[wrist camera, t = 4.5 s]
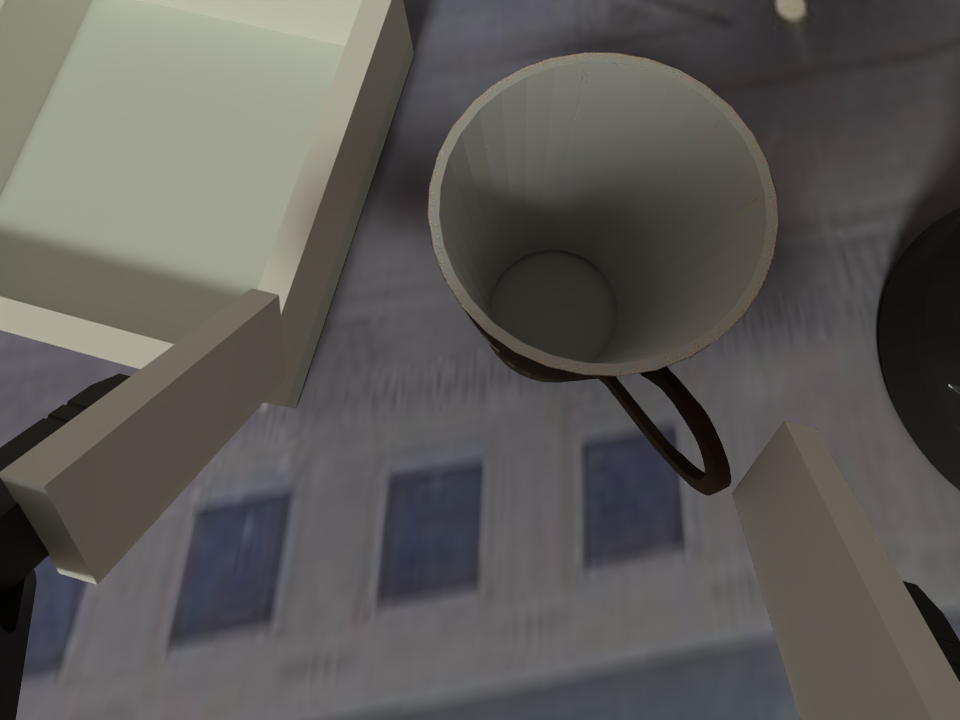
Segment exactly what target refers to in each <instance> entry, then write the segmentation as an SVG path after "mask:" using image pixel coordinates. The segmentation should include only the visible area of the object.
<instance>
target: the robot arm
mask: <svg viewBox="0 0 960 720" xmlns="http://www.w3.org/2000/svg"><path fill="white" fill-rule="evenodd" d="M879 347H880V356H881V364H882V368H883V373H884V377H885V381H886V384H887V388H888V391H889V393H890V396H891V399H892V401H893V404H894V406H895V408H896V410H897V413H898V415H899V417H900V419H901V420H902V422H903V424H904V426H905V428H906V429H907V431H908V433H909V434H910V436H911V437H912V439H913V440H914V442H915V443H916V445H917V446H918V447H919V449H920V450H921V451H922V453H923V454H924V455H925V456H926V458H927V459H928V460H929V461H930V462H931V464H932V465H933V466H934V467H935V468H936V469H937V470H938V471H939V472H940V473H941V474H942V475H943V476H944V477H945V478H946V479H947V480H948V481H949V482H950V483H951V484H953V485H954V486H955V487H956V488H957V489H959V490H960V208H959V209H957V210H955V211H953V212H951V213H950V214H948V215H946V216H944V217H943V218H941V219H940V220H938V221H937V222H935V223H934V224H932V225H931V226H930V227H929V228H928V229H926V230H925V231H924V232H923V233H922V234H921V235H920V236H919V237H918V238H917V239H916V240H915V241H914V242H913V243H912V244H911V245H910V247H909V248H908V249H907V250H906V252H905V253H904V255H903V256H902V257H901V259H900V261H899V262H898V264H897V266H896V267H895V269H894V271H893V273H892V276H891V278H890V280H889V283H888V285H887V288H886V291H885V295H884V298H883V302H882V308H881V313H880V323H879ZM285 378H286V368H285V356H284V345H283V334H282V323H281V311H280V300H279V295H277V294H273V293H269V292H265V291H261V290H257V289H253V288H251V289H250V290H249V291H247V292H246V293H244V294H243V295H242V296H240V297H239V298H238V299H236V300H235V301H233V302H232V303H231V304H229V305H228V306H227V307H225V308H224V309H223V310H221V311H220V312H218V313H217V314H216V315H214V316H213V317H212V318H210V319H209V320H207V321H206V322H205V323H203V324H202V325H201V326H199V327H198V328H196V329H195V330H194V331H192V332H191V333H190V334H188V335H187V336H186V337H184V338H183V339H181V340H180V341H179V342H177V343H176V344H175V345H173V346H172V347H170V348H169V349H168V350H166V351H165V352H164V353H162V354H161V355H159V356H158V357H157V358H155V359H154V360H153V361H151V362H150V363H149V364H147V365H146V366H144V367H143V368H142V369H140V370H139V371H138V372H136V373H135V374H133V375H132V376H127V375H123V374H118V375H115V376H113V377H110V378H108V379H105V380H103V381H100V382H98V383H95V384H93V385H91V386H89V387H88V388H86V389H85V390H83V391H82V392H80V393H79V394H78V395H76V396H75V397H73V398H72V399H70V400H69V401H68V403H67V405H62V406H60V407H59V408H57V409H56V410H54V411H53V412H51V413H50V414H49V415H48V418H47V419H44V418H43V419H41V420H40V421H38V422H37V423H36V424H34V425H33V426H31V427H30V428H28V429H27V430H25V431H24V432H22V433H21V434H20V435H18V436H17V437H15V438H14V439H12V440H11V441H9V442H8V443H7V444H5V445H4V446H2V447H1V448H0V720H16V714H17V707H18V701H19V694H20V688H21V681H22V675H23V668H24V662H25V655H26V649H27V642H28V635H29V629H30V622H31V616H32V609H33V603H34V596H35V590H36V583H37V581H36V574H35V571H34V568H35V567H36V566H37V565H38V564H39V563H40V562H42V561H43V560H44V559H45V558H46V557H47V556H48V555H49V557H50V559H51V560H52V562H53V564H54V565H55V567H56V568H57V570H58V572H59V573H60V574H63V575H67V576H70V577H73V578H77V579H80V580H83V581H87V582H90V583H93V584H97V585H98V584H99V583H100V581H101V580H102V579H103V578H104V577H105V576H106V575H107V574H108V573H109V572H110V570H111V569H112V568H113V567H114V566H115V565H116V564H117V563H118V562H119V561H120V559H121V558H122V557H123V556H124V555H125V554H126V553H127V552H128V551H129V550H130V548H131V547H132V546H133V545H134V544H135V543H136V542H137V541H138V540H139V539H140V537H141V536H142V535H143V534H144V533H145V532H146V531H147V530H148V529H149V528H150V526H151V525H152V524H153V523H154V522H155V521H156V520H157V519H158V518H159V517H160V515H161V514H162V513H163V512H164V511H165V510H166V509H167V508H168V507H169V506H170V504H171V503H172V502H173V501H174V500H175V499H176V498H177V497H178V496H179V495H180V493H181V492H182V491H183V490H184V489H185V488H186V487H187V486H188V485H189V484H190V482H191V481H192V480H193V479H194V478H195V477H196V476H197V475H198V474H199V473H200V471H201V470H202V469H203V468H204V467H205V466H206V465H207V464H208V463H209V462H210V460H211V459H212V458H213V457H214V456H215V455H216V454H217V453H218V452H219V451H220V449H221V448H222V447H223V446H224V445H225V444H226V443H227V442H228V441H229V440H230V438H231V437H232V436H233V435H234V434H235V433H236V432H237V431H238V430H239V429H240V427H241V426H242V425H243V424H244V423H245V422H246V421H247V420H248V419H249V418H250V416H251V415H252V414H253V413H254V412H255V411H256V410H257V409H258V408H259V407H260V405H261V404H262V403H263V402H264V401H265V400H266V399H267V398H268V397H269V396H270V394H271V393H272V392H273V391H274V390H275V389H276V388H277V387H278V386H279V385H280V383H281V382H282V381H283V380H284V379H285ZM732 494H733V498H734V501H735V504H736V508H737V511H738V514H739V518H740V521H741V524H742V528H743V531H744V534H745V537H746V541H747V544H748V547H749V551H750V554H751V557H752V561H753V564H754V567H755V571H756V574H757V577H758V581H759V584H760V587H761V591H762V594H763V597H764V601H765V604H766V607H767V611H768V614H769V617H770V621H771V624H772V627H773V631H774V634H775V637H776V641H777V644H778V647H779V650H780V654H781V657H782V660H783V664H784V667H785V670H786V674H787V677H788V680H789V684H790V687H791V690H792V694H793V697H794V700H795V704H796V707H797V710H798V714H799V717H800V720H960V641H959V639H958V637H957V636H956V634H955V632H954V631H953V629H952V627H951V626H950V624H949V622H948V621H947V619H946V617H945V616H944V614H943V613H942V612H941V611H940V610H939V609H938V607H937V606H936V605H935V604H934V603H933V602H932V601H931V600H930V599H929V598H928V597H927V596H926V594H925V593H924V592H923V591H922V590H921V589H920V588H919V587H918V586H917V585H915V584H912V583H908V582H904V581H902V579H901V578H900V576H899V574H898V572H897V571H896V569H895V567H894V565H893V564H892V562H891V560H890V558H889V556H888V555H887V553H886V551H885V549H884V548H883V546H882V544H881V542H880V541H879V539H878V537H877V535H876V533H875V532H874V530H873V528H872V526H871V525H870V523H869V521H868V519H867V518H866V516H865V514H864V512H863V511H862V509H861V507H860V505H859V503H858V502H857V500H856V498H855V496H854V495H853V493H852V491H851V489H850V488H849V486H848V484H847V482H846V480H845V479H844V477H843V475H842V473H841V472H840V470H839V468H838V466H837V465H836V463H835V461H834V459H833V457H832V456H831V454H830V452H829V450H828V449H827V447H826V445H825V443H824V442H823V440H822V438H821V436H820V434H819V433H818V431H817V429H816V428H812V427H808V426H804V425H800V424H796V423H792V422H788V421H784V422H783V423H782V424H781V426H780V427H779V429H778V430H777V431H776V433H775V434H774V436H773V437H772V438H771V440H770V441H769V443H768V444H767V445H766V447H765V448H764V450H763V451H762V452H761V454H760V455H759V457H758V458H757V459H756V461H755V462H754V464H753V465H752V466H751V468H750V469H749V471H748V472H747V473H746V475H745V476H744V478H743V479H742V480H741V482H740V483H739V485H738V486H737V487H736V489H735V490H734V492H733V493H732Z"/></svg>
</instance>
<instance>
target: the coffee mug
mask: <svg viewBox="0 0 960 720" xmlns="http://www.w3.org/2000/svg"><path fill="white" fill-rule="evenodd" d="M428 222H429V229H430V235H431V242H432V248H433V251H434V253H435V256H436V259H437V261H438V264H439V267H440V269H441V272H442V275H443V277H444V279H445V281H446V282H447V284H448V286H449V287H450V289H451V290H452V292H453V294H454V295H455V297H456V298H457V300H458V301H459V303H460V305H461V306H462V308H463V309H464V310H465V312H466V313H467V315H468V316H469V317H470V319H471V320H472V322H473V323H474V324H475V326H476V327H477V328H478V330H479V331H480V333H481V334H482V335H483V337H484V338H485V340H486V341H487V342H488V344H489V345H490V347H491V348H492V349H493V351H494V352H495V353H496V355H497V356H498V357H499V358H500V359H501V360H502V361H503V362H504V363H505V364H506V365H507V366H508V367H510V368H511V369H513V370H514V371H515V372H517V373H519V374H521V375H523V376H525V377H528V378H530V379H534V380H538V381H542V382H568V381H578V380H587V379H597V378H599V379H600V380H601V381H602V382H603V383H604V384H605V385H606V386H607V387H608V389H609V390H610V391H611V392H612V394H613V395H614V396H615V397H616V399H617V400H618V401H619V403H620V404H621V405H622V407H623V408H624V409H625V411H626V412H627V413H628V415H629V416H630V417H631V418H632V420H633V421H634V422H635V424H636V425H637V426H638V427H639V429H640V430H641V431H642V432H643V434H644V435H645V436H646V438H647V439H648V440H649V441H650V443H651V444H652V445H653V446H654V447H655V449H656V450H657V451H658V452H659V453H660V454H661V456H662V457H663V458H664V459H665V460H666V461H667V462H668V463H669V464H670V466H671V467H672V468H673V469H674V470H675V471H676V472H677V473H678V474H679V475H680V476H681V477H682V478H683V479H684V480H685V481H686V482H687V483H688V484H689V485H690V486H691V487H693V488H694V489H696V490H697V491H699V492H701V493H703V494H705V495H708V496H709V495H712V494H714V493H717V492H719V491H721V490H723V489H725V488H727V487H729V485H730V483H731V474H730V467H729V463H728V460H727V457H726V454H725V451H724V449H723V446H722V444H721V441H720V439H719V437H718V435H717V433H716V430H715V428H714V426H713V424H712V422H711V420H710V418H709V416H708V415H707V413H706V412H705V410H704V409H703V408H702V406H701V405H700V404H699V403H698V402H697V401H696V399H695V398H694V397H693V396H692V395H691V394H690V392H689V391H688V390H687V388H686V387H685V386H684V385H683V384H682V383H681V382H680V380H679V379H678V378H677V377H676V376H675V375H674V374H673V373H672V372H671V371H670V370H669V368H668V367H667V366H669V365H671V364H674V363H677V362H679V361H682V360H685V359H687V358H690V357H692V356H693V355H695V354H696V353H698V352H699V351H701V350H703V349H704V348H706V347H707V346H709V345H710V344H712V343H714V342H715V341H717V340H718V339H720V338H721V337H722V336H723V335H724V334H725V333H726V332H727V331H728V330H729V329H730V328H731V327H732V326H733V325H734V324H735V323H736V322H737V321H738V320H739V319H740V318H741V317H742V316H743V315H744V314H745V313H746V311H747V309H748V308H749V306H750V305H751V303H752V302H753V300H754V299H755V297H756V296H757V294H758V293H759V291H760V290H761V288H762V287H763V284H764V281H765V279H766V276H767V273H768V271H769V268H770V265H771V263H772V260H773V257H774V253H775V246H776V239H777V232H778V225H779V222H778V208H777V195H776V189H775V186H774V182H773V179H772V175H771V172H770V169H769V165H768V162H767V159H766V158H765V156H764V154H763V152H762V150H761V148H760V146H759V144H758V142H757V141H756V139H755V137H754V135H753V133H752V132H751V130H750V129H749V128H748V127H747V125H746V124H745V123H744V122H743V120H742V119H741V118H740V117H739V115H738V114H737V113H736V112H735V111H734V109H733V108H732V107H731V106H730V105H729V104H727V103H726V102H725V101H724V100H723V99H722V98H720V97H719V96H718V95H717V94H716V93H715V92H713V91H712V90H711V89H710V88H709V87H707V86H706V85H704V84H703V83H701V82H699V81H697V80H696V79H694V78H692V77H690V76H689V75H687V74H685V73H684V72H682V71H680V70H678V69H675V68H673V67H670V66H667V65H665V64H662V63H659V62H656V61H654V60H651V59H648V58H643V57H637V56H632V55H626V54H621V53H603V52H583V53H576V54H570V55H564V56H558V57H552V58H549V59H546V60H543V61H540V62H538V63H535V64H532V65H529V66H526V67H523V68H521V69H519V70H518V71H516V72H514V73H512V74H511V75H509V76H507V77H505V78H503V79H502V80H500V81H498V82H496V83H495V84H494V85H492V86H491V87H490V88H489V89H488V90H486V91H485V92H484V93H483V94H482V95H481V96H479V97H478V98H477V99H476V100H475V101H473V102H472V103H471V104H470V105H469V107H468V108H467V109H466V110H465V112H464V113H463V114H462V115H461V117H460V118H459V119H458V120H457V122H456V123H455V124H454V125H453V127H452V128H451V130H450V132H449V134H448V136H447V138H446V140H445V142H444V144H443V146H442V148H441V150H440V152H439V153H438V156H437V159H436V163H435V167H434V170H433V174H432V178H431V181H430V185H429V201H428ZM636 373H641V375H642V376H644V377H645V378H647V379H648V380H650V381H651V382H653V383H654V384H656V385H657V386H658V387H660V388H661V389H662V390H663V391H664V392H665V394H666V395H667V396H668V397H669V398H670V400H671V401H672V402H673V403H674V405H675V406H676V408H677V409H678V411H679V413H680V414H681V416H682V417H683V419H684V420H685V422H686V423H687V425H688V426H689V428H690V430H691V431H692V433H693V435H694V437H695V438H696V441H697V443H698V445H699V448H700V451H701V454H702V458H703V461H704V466H705V473H704V472H702V471H701V470H699V469H698V468H697V467H696V466H694V465H693V464H692V463H691V462H689V461H688V460H687V459H686V458H685V457H684V456H683V455H682V454H681V453H680V452H678V451H677V450H676V449H675V448H674V447H673V446H672V445H671V444H670V443H669V442H668V441H667V440H666V438H665V437H664V436H663V435H662V434H661V432H660V431H659V430H658V429H657V427H656V426H655V425H654V424H653V423H652V421H651V420H650V419H649V418H648V416H647V415H646V414H645V413H644V411H643V410H642V409H641V408H640V407H639V405H638V404H637V403H636V401H635V400H634V399H633V398H632V396H631V395H630V394H629V393H628V391H627V390H626V389H625V388H624V387H623V385H622V384H621V383H620V382H619V380H618V379H617V378H616V376H624V375H630V374H636Z"/></svg>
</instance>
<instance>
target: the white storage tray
mask: <svg viewBox="0 0 960 720" xmlns="http://www.w3.org/2000/svg"><path fill="white" fill-rule="evenodd" d="M413 56H414V51H413V46H412V41H411V36H410V31H409V26H408V21H407V16H406V12H405V7H404V2H403V0H0V330H2V331H6V332H10V333H13V334H17V335H20V336H24V337H27V338H31V339H35V340H38V341H42V342H45V343H49V344H52V345H56V346H60V347H63V348H67V349H70V350H74V351H77V352H81V353H85V354H88V355H92V356H95V357H99V358H102V359H106V360H110V361H113V362H117V363H120V364H124V365H127V366H131V367H135V368H138V369H142V368H143V367H144V366H146V365H147V364H149V363H150V362H151V361H153V360H154V359H155V358H157V357H158V356H159V355H161V354H162V353H164V352H165V351H166V350H168V349H169V348H170V347H172V346H173V345H175V344H176V343H177V342H179V341H180V340H181V339H183V338H184V337H186V336H187V335H188V334H190V333H191V332H192V331H194V330H195V329H196V328H198V327H199V326H201V325H202V324H203V323H205V322H206V321H207V320H209V319H210V318H212V317H213V316H214V315H216V314H217V313H218V312H220V311H221V310H223V309H224V308H225V307H227V306H228V305H229V304H231V303H232V302H233V301H235V300H236V299H238V298H239V297H240V296H242V295H243V294H244V293H246V292H247V291H249V290H250V289H251V288H253V289H257V290H261V291H265V292H269V293H273V294H277V295H279V300H280V311H281V323H282V334H283V345H284V356H285V368H286V378H285V379H284V380H283V381H282V382H281V383H280V385H279V386H278V387H277V388H276V389H275V390H274V391H273V392H272V393H271V394H270V396H269V397H268V398H267V399H266V400H265V401H264V403H269V404H275V405H280V406H286V407H291V408H296V406H297V403H298V400H299V397H300V394H301V391H302V388H303V385H304V382H305V379H306V376H307V373H308V370H309V367H310V364H311V361H312V358H313V355H314V352H315V349H316V346H317V343H318V340H319V337H320V334H321V331H322V328H323V325H324V322H325V319H326V316H327V313H328V310H329V307H330V304H331V301H332V298H333V295H334V292H335V289H336V286H337V283H338V280H339V277H340V274H341V272H342V269H343V266H344V263H345V260H346V257H347V254H348V251H349V248H350V245H351V242H352V239H353V236H354V233H355V230H356V227H357V224H358V221H359V218H360V215H361V212H362V209H363V206H364V203H365V200H366V197H367V194H368V191H369V188H370V185H371V182H372V179H373V176H374V173H375V170H376V167H377V164H378V161H379V158H380V155H381V152H382V149H383V146H384V143H385V140H386V137H387V134H388V131H389V128H390V125H391V122H392V119H393V116H394V113H395V110H396V107H397V104H398V101H399V98H400V95H401V92H402V89H403V86H404V83H405V80H406V77H407V74H408V71H409V68H410V65H411V62H412V59H413Z"/></svg>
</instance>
